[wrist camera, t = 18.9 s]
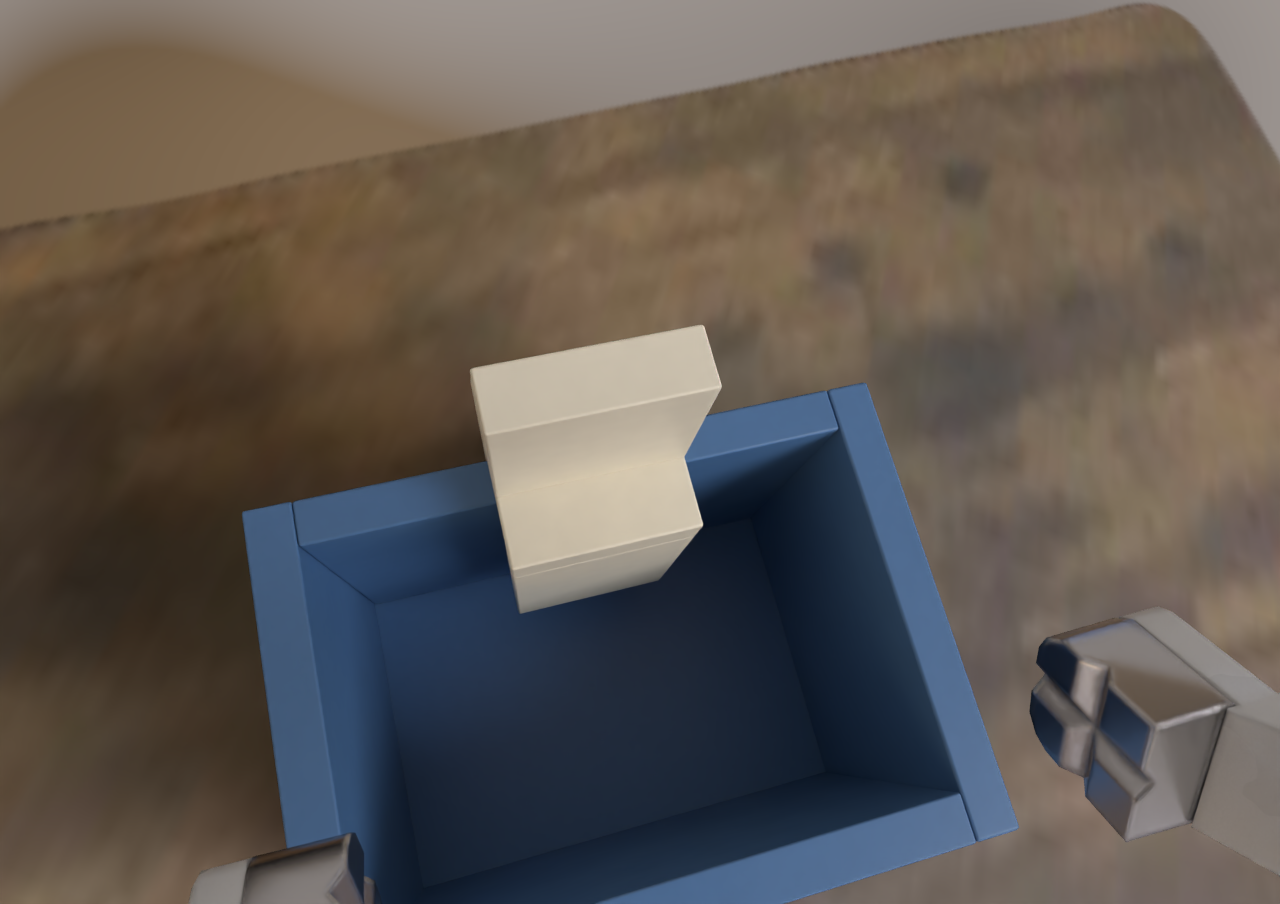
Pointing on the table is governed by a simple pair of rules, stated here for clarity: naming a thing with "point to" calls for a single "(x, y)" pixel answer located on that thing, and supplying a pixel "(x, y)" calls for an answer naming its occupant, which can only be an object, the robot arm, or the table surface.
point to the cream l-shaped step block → (595, 461)
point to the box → (628, 685)
